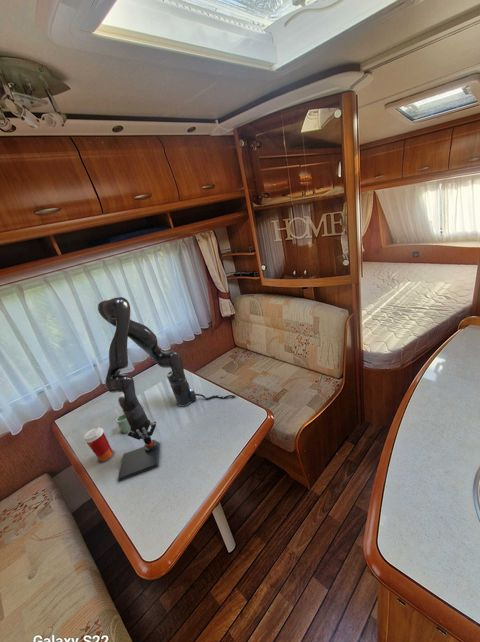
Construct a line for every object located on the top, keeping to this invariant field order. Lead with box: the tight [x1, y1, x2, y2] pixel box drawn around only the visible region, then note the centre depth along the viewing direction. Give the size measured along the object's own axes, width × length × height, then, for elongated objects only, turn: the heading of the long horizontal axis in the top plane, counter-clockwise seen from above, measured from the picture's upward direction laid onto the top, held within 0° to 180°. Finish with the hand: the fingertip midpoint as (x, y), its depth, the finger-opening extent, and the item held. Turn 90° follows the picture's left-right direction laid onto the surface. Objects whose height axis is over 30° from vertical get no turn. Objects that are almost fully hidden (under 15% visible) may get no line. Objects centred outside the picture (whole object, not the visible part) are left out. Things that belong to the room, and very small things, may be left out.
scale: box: [117, 439, 160, 482], centre depth 122 cm, size 16×14×4 cm
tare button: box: [146, 439, 154, 448], centre depth 126 cm, size 3×3×2 cm
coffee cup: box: [83, 426, 114, 462], centre depth 126 cm, size 8×8×15 cm
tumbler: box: [115, 413, 131, 434], centre depth 144 cm, size 6×6×8 cm
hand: (149, 442), depth 126 cm, fingers closed
